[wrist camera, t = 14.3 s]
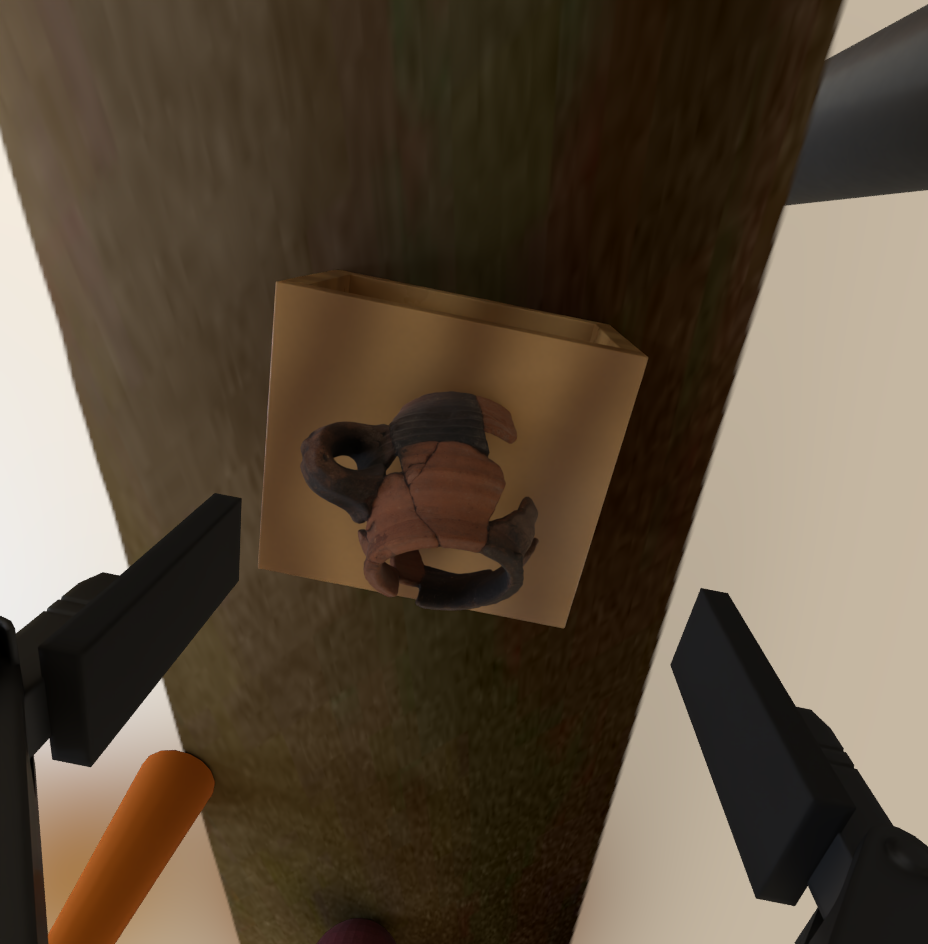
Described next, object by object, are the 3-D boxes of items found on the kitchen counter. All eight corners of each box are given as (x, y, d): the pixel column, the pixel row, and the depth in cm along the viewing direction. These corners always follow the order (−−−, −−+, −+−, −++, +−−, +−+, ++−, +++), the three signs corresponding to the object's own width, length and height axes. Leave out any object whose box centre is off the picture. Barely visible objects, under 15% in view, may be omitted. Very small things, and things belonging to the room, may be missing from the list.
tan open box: (609, 324, 38) (648, 357, 28) (550, 538, 44) (564, 629, 34) (337, 269, 38) (275, 281, 28) (314, 491, 44) (257, 568, 34)
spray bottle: (176, 711, 53) (-104, 1117, 28) (228, 796, 57) (19, 1220, 32) (110, 726, 54) (-214, 1127, 30) (165, 807, 58) (-83, 1225, 33)
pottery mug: (571, 416, 30) (586, 561, 25) (483, 507, 36) (480, 635, 31) (341, 325, 25) (303, 477, 20) (290, 446, 32) (252, 583, 27)
